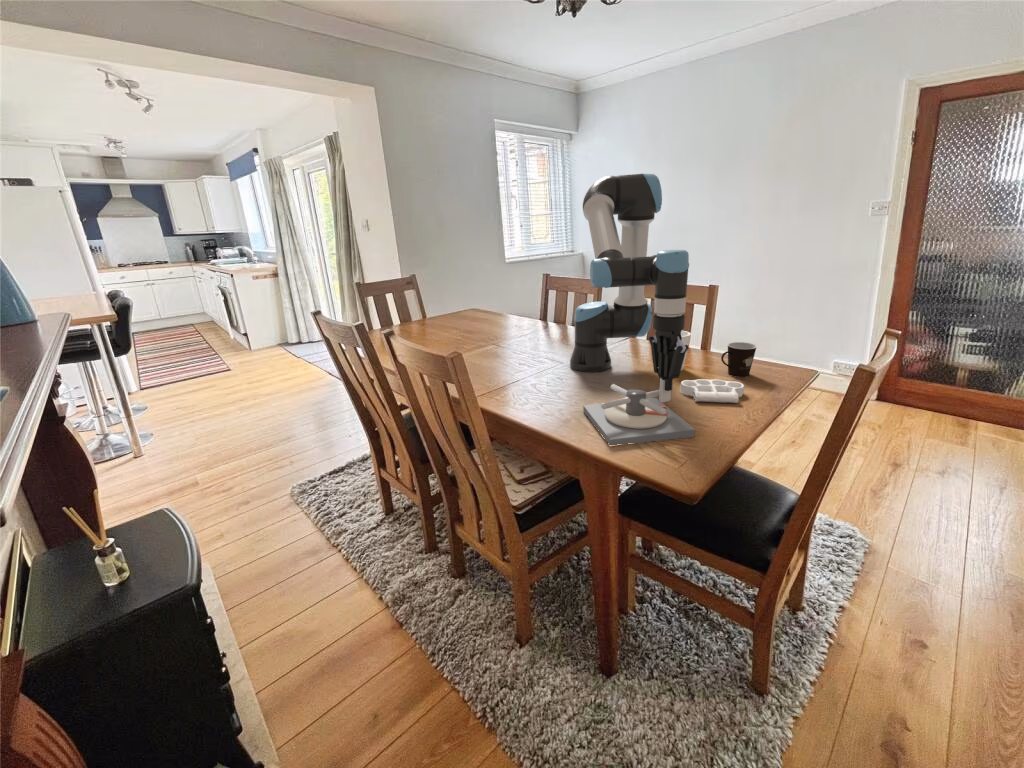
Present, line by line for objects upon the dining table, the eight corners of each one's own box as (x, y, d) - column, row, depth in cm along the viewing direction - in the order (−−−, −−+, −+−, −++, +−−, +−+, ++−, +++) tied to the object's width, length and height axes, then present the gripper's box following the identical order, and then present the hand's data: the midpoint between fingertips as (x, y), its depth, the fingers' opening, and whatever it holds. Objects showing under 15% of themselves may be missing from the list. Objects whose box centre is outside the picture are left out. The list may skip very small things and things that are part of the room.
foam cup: (693, 369, 162) (696, 333, 157) (676, 374, 157) (679, 338, 153) (670, 363, 169) (673, 328, 165) (654, 368, 165) (656, 333, 160)
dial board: (583, 411, 132) (583, 404, 131) (655, 403, 135) (655, 396, 134) (609, 446, 112) (610, 438, 111) (694, 436, 114) (695, 428, 113)
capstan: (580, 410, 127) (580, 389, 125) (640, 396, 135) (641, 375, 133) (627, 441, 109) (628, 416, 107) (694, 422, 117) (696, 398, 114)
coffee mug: (746, 369, 158) (750, 341, 155) (756, 378, 150) (761, 348, 147) (711, 370, 160) (714, 342, 156) (720, 378, 152) (723, 349, 148)
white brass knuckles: (683, 403, 135) (678, 386, 148) (750, 406, 131) (738, 388, 144) (684, 393, 134) (678, 376, 147) (751, 395, 130) (739, 378, 143)
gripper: (699, 316, 111) (692, 406, 119) (665, 308, 122) (661, 390, 130) (673, 320, 108) (668, 411, 116) (641, 311, 120) (638, 395, 128)
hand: (664, 400), depth 123 cm, fingers closed
